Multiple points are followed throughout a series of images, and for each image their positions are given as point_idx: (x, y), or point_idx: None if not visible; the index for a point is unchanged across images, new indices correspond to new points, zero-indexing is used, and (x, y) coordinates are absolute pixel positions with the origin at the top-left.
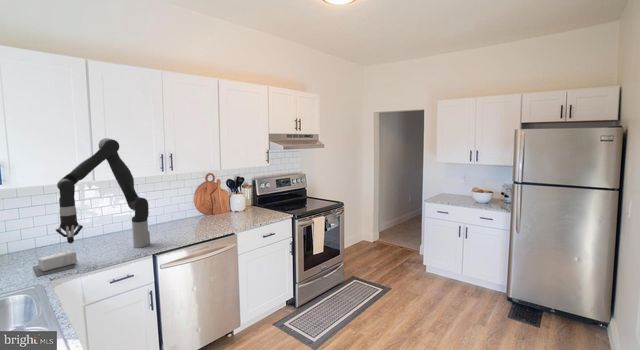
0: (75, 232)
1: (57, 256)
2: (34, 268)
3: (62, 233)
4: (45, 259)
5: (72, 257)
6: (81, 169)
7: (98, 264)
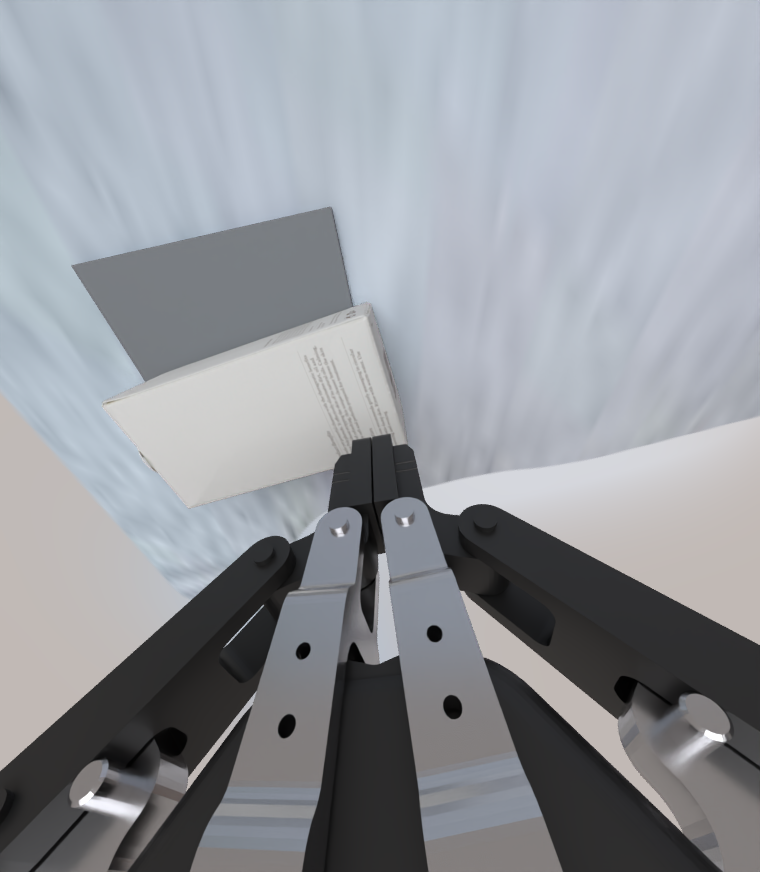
0: (496, 563)
1: (276, 475)
2: (122, 340)
3: (246, 688)
4: (204, 501)
5: None
6: None
7: (502, 468)
